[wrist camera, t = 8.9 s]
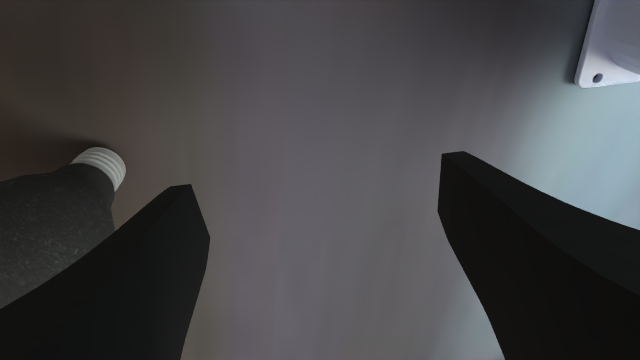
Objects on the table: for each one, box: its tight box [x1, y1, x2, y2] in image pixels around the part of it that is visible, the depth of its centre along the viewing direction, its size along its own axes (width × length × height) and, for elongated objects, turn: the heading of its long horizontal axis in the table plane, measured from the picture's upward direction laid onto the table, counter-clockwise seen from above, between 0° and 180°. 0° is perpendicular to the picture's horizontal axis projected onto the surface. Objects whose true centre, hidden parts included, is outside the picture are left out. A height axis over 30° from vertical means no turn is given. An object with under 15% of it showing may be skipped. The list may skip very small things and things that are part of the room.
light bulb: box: [0, 147, 126, 309], centre depth 17 cm, size 6×6×10 cm
